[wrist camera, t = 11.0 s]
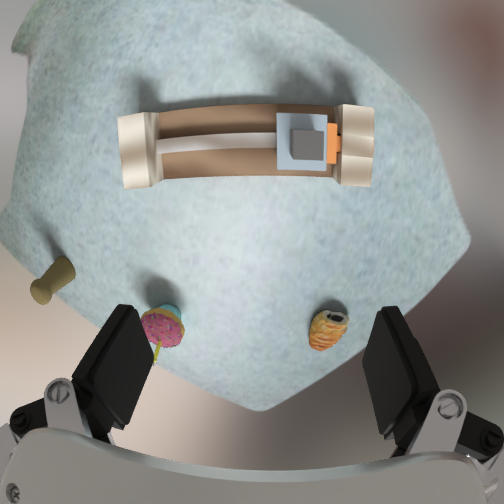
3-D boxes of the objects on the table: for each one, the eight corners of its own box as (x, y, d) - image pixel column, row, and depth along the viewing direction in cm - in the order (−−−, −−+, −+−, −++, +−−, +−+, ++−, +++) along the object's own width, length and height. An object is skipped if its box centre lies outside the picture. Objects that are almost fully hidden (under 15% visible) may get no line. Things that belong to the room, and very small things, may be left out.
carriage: (276, 114, 32) (277, 109, 23) (321, 116, 32) (339, 113, 23) (276, 165, 35) (278, 178, 26) (320, 166, 35) (337, 180, 26)
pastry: (330, 346, 52) (333, 360, 48) (300, 341, 52) (301, 355, 48) (350, 312, 48) (354, 325, 44) (317, 305, 47) (319, 319, 44)
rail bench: (139, 117, 35) (117, 117, 29) (358, 110, 32) (374, 108, 26) (144, 179, 39) (124, 189, 33) (356, 176, 37) (370, 186, 31)
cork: (54, 252, 47) (23, 278, 37) (74, 261, 47) (43, 289, 37) (57, 275, 50) (29, 302, 40) (76, 284, 50) (49, 313, 40)
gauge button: (323, 123, 31) (327, 122, 29) (369, 127, 30) (375, 128, 28) (323, 160, 33) (326, 163, 31) (367, 164, 32) (373, 166, 30)
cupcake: (195, 328, 52) (180, 374, 41) (159, 330, 53) (139, 373, 42) (180, 293, 48) (158, 338, 37) (142, 297, 49) (116, 339, 39)
